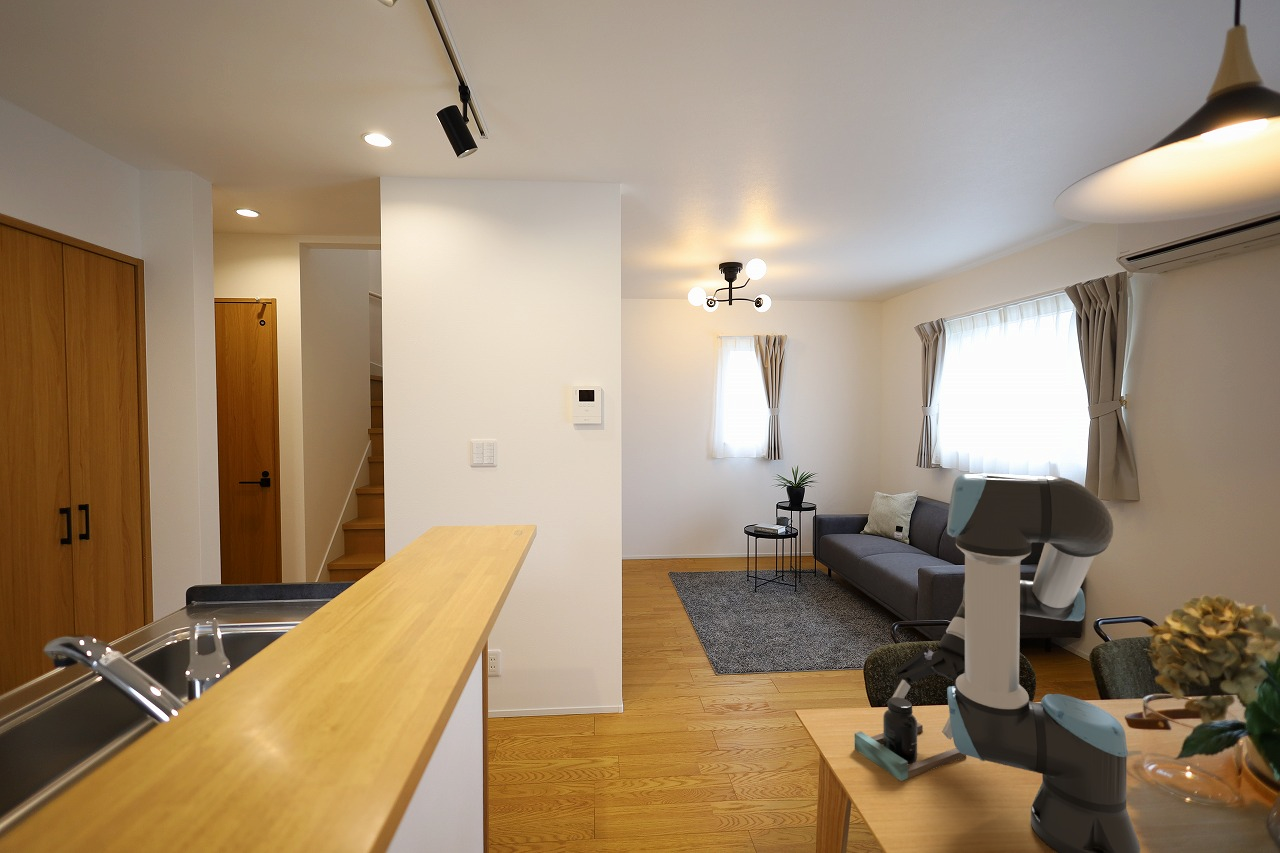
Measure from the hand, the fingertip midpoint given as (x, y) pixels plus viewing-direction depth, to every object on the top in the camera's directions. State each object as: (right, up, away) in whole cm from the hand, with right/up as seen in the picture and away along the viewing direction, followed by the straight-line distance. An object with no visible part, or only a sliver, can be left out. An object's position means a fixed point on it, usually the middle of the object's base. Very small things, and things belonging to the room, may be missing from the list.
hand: (918, 720), depth 126 cm
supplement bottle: (-5, -7, -3) cm, 9 cm away
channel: (-2, -6, -1) cm, 7 cm away
